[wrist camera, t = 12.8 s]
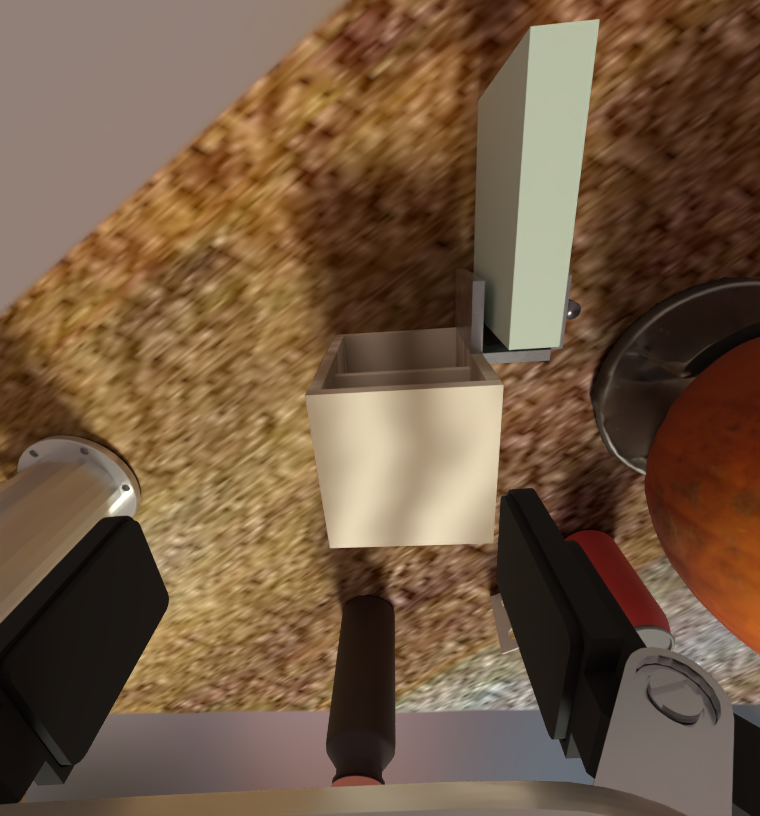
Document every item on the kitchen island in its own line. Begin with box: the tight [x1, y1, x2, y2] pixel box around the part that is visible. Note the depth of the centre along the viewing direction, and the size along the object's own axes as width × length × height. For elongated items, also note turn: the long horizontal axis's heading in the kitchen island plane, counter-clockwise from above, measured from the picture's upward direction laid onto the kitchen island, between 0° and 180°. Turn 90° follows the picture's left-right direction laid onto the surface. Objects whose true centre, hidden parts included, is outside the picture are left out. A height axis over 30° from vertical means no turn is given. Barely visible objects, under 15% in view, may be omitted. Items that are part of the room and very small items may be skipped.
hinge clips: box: [455, 268, 581, 364], centre depth 31 cm, size 8×6×8 cm
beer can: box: [565, 530, 675, 651], centre depth 41 cm, size 7×7×12 cm
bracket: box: [491, 593, 519, 654], centre depth 47 cm, size 11×4×10 cm, turn 33°
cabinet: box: [305, 327, 504, 548], centre depth 32 cm, size 12×12×14 cm
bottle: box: [326, 596, 395, 787], centre depth 43 cm, size 7×7×20 cm
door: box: [474, 19, 599, 350], centre depth 26 cm, size 15×4×12 cm, turn 4°
